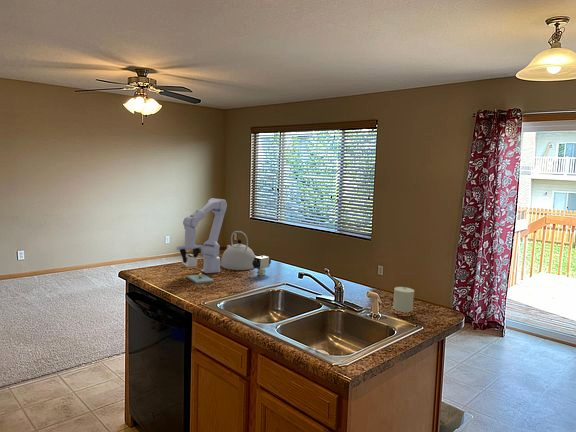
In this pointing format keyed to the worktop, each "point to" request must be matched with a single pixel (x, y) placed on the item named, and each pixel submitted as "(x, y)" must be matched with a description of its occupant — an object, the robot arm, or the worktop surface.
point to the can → (403, 299)
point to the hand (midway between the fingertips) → (189, 262)
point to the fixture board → (200, 279)
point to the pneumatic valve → (261, 264)
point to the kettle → (238, 256)
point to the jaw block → (190, 260)
